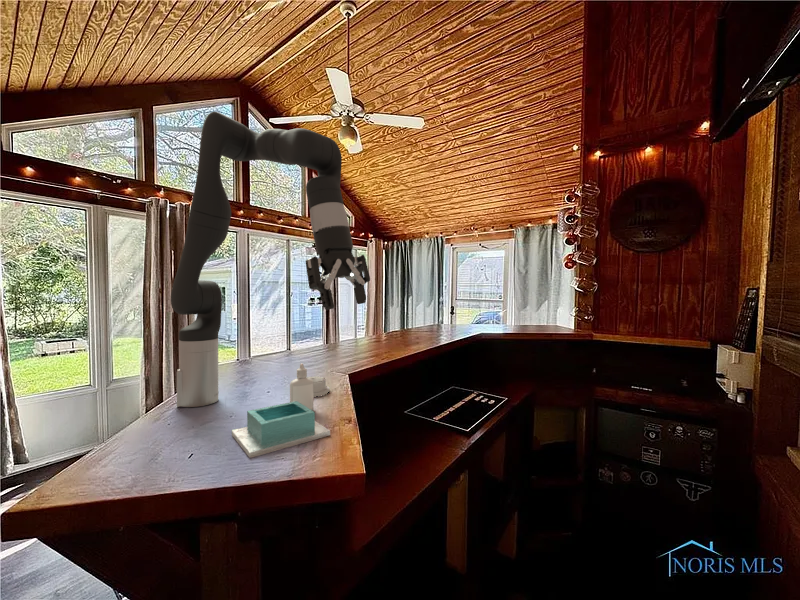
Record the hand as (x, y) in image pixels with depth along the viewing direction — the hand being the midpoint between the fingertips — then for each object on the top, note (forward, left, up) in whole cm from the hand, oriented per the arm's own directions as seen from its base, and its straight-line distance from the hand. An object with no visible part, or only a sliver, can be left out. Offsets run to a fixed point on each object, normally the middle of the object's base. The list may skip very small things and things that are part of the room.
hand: (346, 306), depth 70 cm
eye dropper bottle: (-8, +19, -27) cm, 34 cm away
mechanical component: (-4, +35, -28) cm, 45 cm away
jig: (-13, +5, -27) cm, 30 cm away
